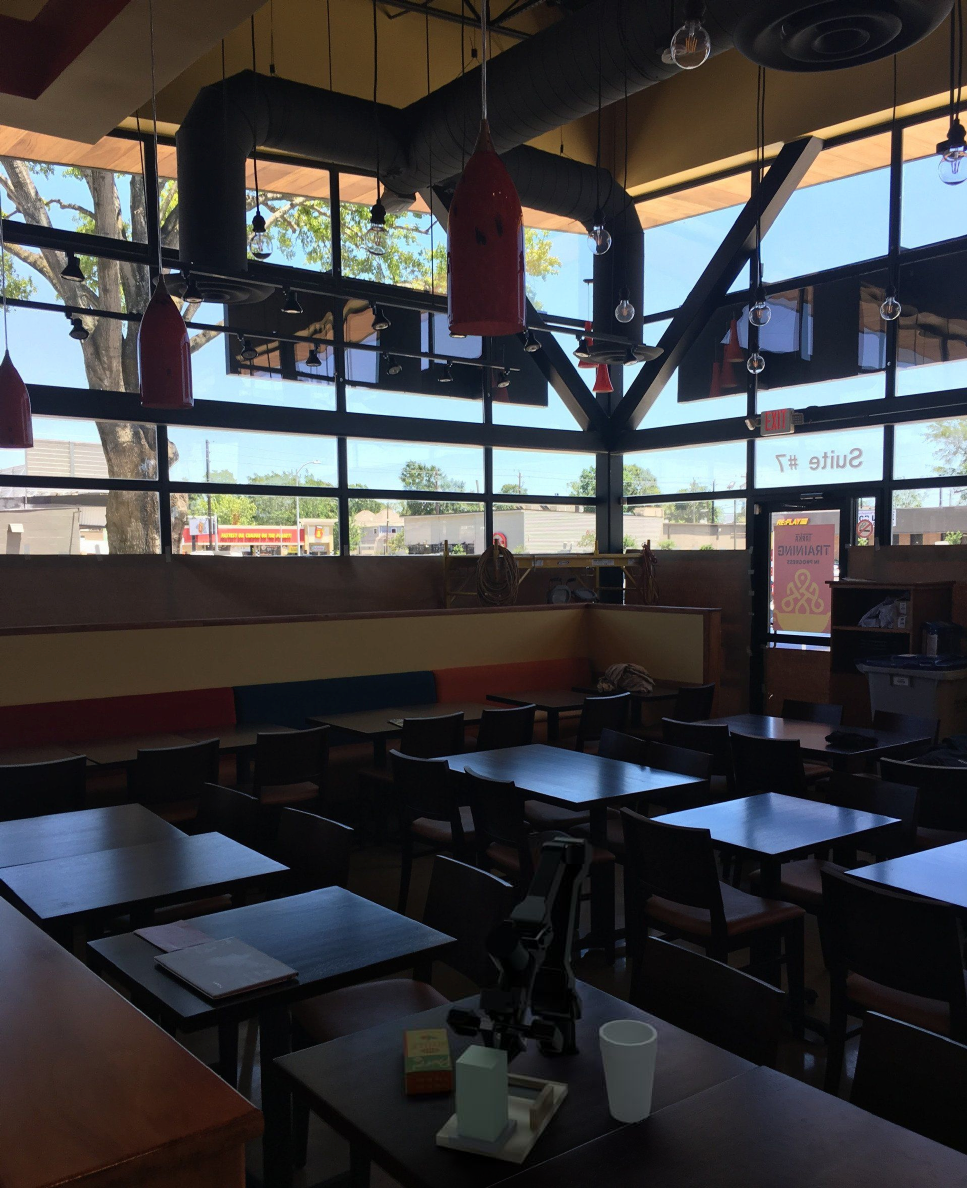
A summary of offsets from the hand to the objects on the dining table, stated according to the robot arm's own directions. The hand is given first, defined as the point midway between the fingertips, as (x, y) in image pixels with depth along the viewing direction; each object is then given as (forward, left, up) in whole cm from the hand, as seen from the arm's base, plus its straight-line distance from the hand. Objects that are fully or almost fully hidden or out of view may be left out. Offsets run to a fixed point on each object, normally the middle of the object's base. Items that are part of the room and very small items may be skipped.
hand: (490, 1083), depth 151 cm
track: (-4, -4, -8) cm, 10 cm away
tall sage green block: (+2, +2, -6) cm, 7 cm away
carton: (+5, -24, -9) cm, 26 cm away
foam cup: (-23, +1, -8) cm, 25 cm away
